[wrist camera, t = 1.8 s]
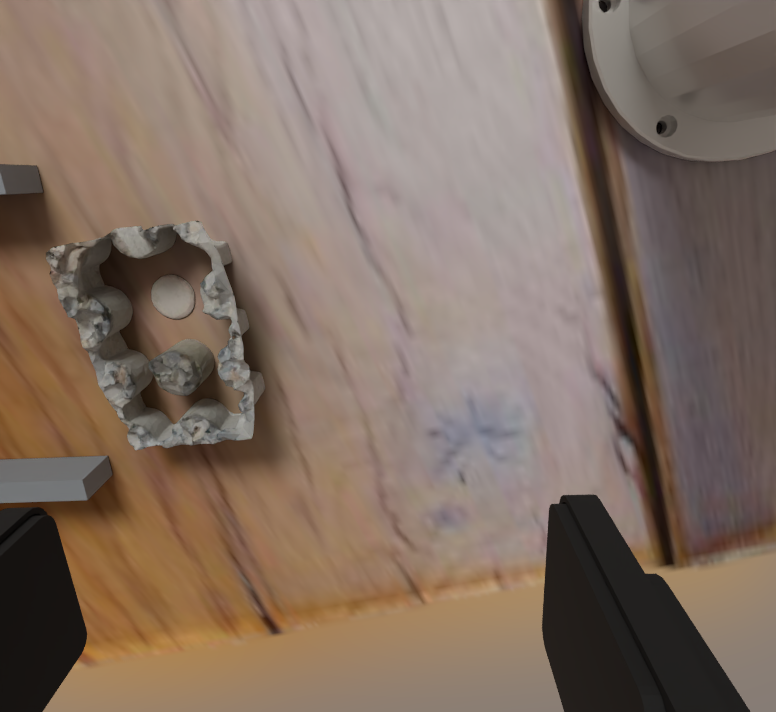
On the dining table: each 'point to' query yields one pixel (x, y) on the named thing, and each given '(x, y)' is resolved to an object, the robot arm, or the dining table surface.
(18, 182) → the display stand
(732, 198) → the dining table surface
